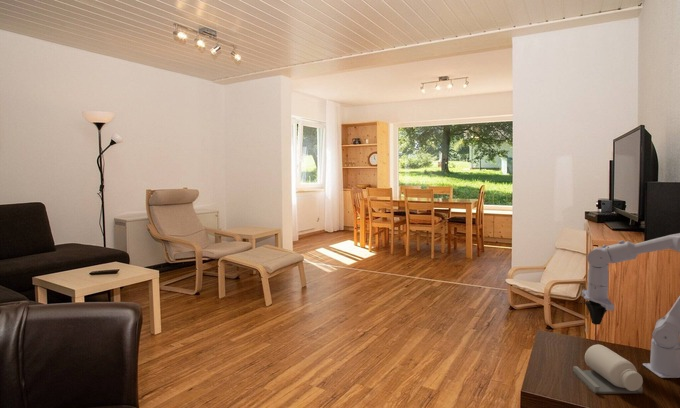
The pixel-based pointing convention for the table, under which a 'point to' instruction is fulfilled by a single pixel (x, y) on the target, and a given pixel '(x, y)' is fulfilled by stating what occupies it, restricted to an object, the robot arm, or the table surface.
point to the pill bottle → (613, 367)
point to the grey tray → (599, 382)
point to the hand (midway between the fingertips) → (596, 323)
